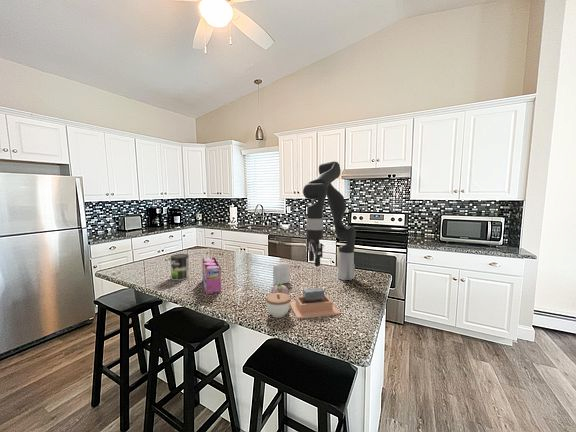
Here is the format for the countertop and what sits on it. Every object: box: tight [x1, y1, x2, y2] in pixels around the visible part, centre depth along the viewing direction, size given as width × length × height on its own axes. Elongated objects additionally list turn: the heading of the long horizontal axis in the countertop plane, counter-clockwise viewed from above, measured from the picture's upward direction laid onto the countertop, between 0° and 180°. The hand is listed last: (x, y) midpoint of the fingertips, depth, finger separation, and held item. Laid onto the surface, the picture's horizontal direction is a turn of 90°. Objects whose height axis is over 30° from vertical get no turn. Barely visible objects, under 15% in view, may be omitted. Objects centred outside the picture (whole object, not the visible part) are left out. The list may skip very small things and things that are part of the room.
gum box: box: [201, 257, 222, 294], centre depth 147 cm, size 24×8×14 cm, turn 23°
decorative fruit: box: [270, 283, 290, 296], centre depth 124 cm, size 9×8×10 cm
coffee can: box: [170, 253, 190, 281], centre depth 160 cm, size 10×10×14 cm
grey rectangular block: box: [302, 287, 325, 304], centre depth 118 cm, size 9×4×8 cm, turn 102°
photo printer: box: [272, 262, 291, 286], centre depth 151 cm, size 10×4×12 cm, turn 123°
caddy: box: [289, 293, 342, 320], centre depth 119 cm, size 16×20×4 cm
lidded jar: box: [265, 293, 291, 319], centre depth 113 cm, size 11×11×9 cm
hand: (314, 263), depth 117 cm, fingers open, 8 cm apart
